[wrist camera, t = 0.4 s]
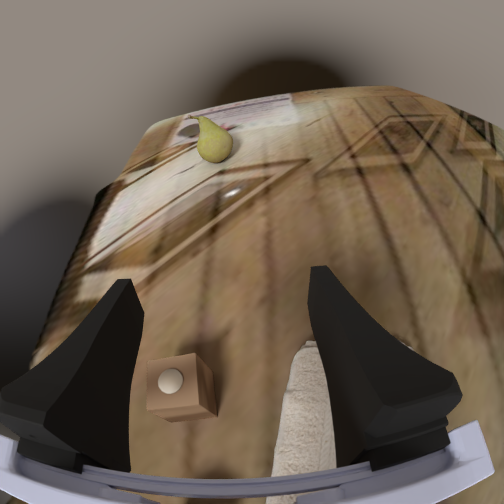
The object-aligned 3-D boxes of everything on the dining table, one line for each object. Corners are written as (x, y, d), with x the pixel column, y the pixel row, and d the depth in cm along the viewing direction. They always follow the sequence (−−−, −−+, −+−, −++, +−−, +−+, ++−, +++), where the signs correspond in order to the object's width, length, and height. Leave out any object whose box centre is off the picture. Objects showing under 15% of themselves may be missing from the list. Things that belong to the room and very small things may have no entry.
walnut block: (217, 417, 27) (198, 403, 23) (171, 422, 27) (145, 409, 23) (213, 372, 30) (194, 351, 27) (169, 379, 31) (146, 360, 27)
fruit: (242, 151, 60) (226, 97, 51) (223, 172, 56) (203, 114, 47) (215, 150, 63) (198, 99, 54) (195, 170, 59) (174, 116, 50)
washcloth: (409, 347, 27) (415, 333, 25) (401, 522, 16) (409, 526, 14) (294, 347, 31) (291, 334, 29) (266, 519, 19) (259, 523, 17)
